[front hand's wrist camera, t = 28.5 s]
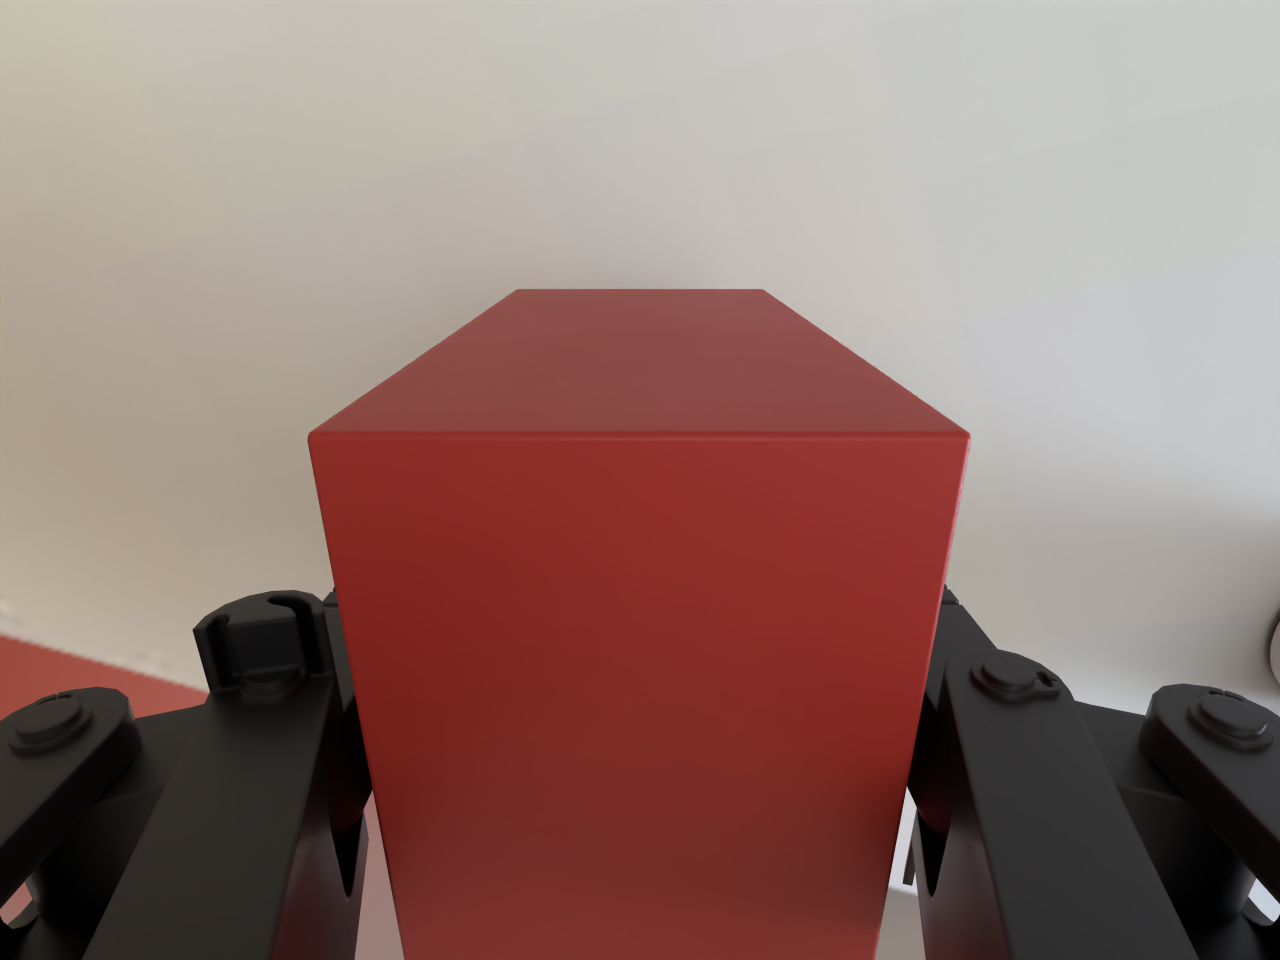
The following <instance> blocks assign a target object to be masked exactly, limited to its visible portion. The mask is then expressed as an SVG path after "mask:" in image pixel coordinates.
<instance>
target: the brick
mask: <svg viewBox="0 0 1280 960" xmlns="http://www.w3.org/2000/svg"><path fill="white" fill-rule="evenodd" d="M970 444H971V437H970V433H969V432H967V431H966V430H964V429H963V428H961V427H960V426H959V425H957V424H956V423H954V422H953V421H951V420H950V419H949V418H947V417H946V416H944V415H943V414H941V413H940V412H938V411H937V410H936V409H934V408H933V407H931V406H930V405H928V404H927V403H926V402H924V401H923V400H921V399H920V398H918V397H917V396H915V395H914V394H913V393H911V392H910V391H908V390H907V389H905V388H904V387H903V386H901V385H900V384H898V383H897V382H895V381H894V380H892V379H891V378H890V377H888V376H887V375H885V374H884V373H882V372H881V371H880V370H878V369H877V368H875V367H874V366H872V365H871V364H869V363H868V362H867V361H865V360H864V359H862V358H861V357H859V356H858V355H857V354H855V353H854V352H852V351H851V350H849V349H848V348H846V347H845V346H844V345H842V344H841V343H839V342H838V341H836V340H835V339H834V338H832V337H831V336H829V335H828V334H826V333H825V332H823V331H822V330H821V329H819V328H818V327H816V326H815V325H813V324H812V323H811V322H809V321H808V320H806V319H805V318H803V317H802V316H800V315H799V314H798V313H796V312H795V311H793V310H792V309H790V308H789V307H788V306H786V305H785V304H783V303H782V302H780V301H779V300H777V299H776V298H775V297H773V296H772V295H770V294H769V293H767V292H766V291H765V290H762V289H518V290H516V291H514V292H513V293H511V294H510V295H508V296H507V297H505V298H504V299H502V300H501V301H500V302H498V303H497V304H495V305H494V306H492V307H491V308H489V309H488V310H487V311H485V312H484V313H482V314H481V315H479V316H478V317H476V318H475V319H473V320H472V321H471V322H469V323H468V324H466V325H465V326H463V327H462V328H460V329H459V330H458V331H456V332H455V333H453V334H452V335H450V336H449V337H447V338H446V339H445V340H443V341H442V342H440V343H439V344H437V345H436V346H434V347H433V348H431V349H430V350H429V351H427V352H426V353H424V354H423V355H421V356H420V357H418V358H417V359H416V360H414V361H413V362H411V363H410V364H408V365H407V366H405V367H404V368H402V369H401V370H400V371H398V372H397V373H395V374H394V375H392V376H391V377H389V378H388V379H387V380H385V381H384V382H382V383H381V384H379V385H378V386H376V387H375V388H373V389H372V390H371V391H369V392H368V393H366V394H365V395H363V396H362V397H360V398H359V399H358V400H356V401H355V402H353V403H352V404H350V405H349V406H347V407H346V408H344V409H343V410H342V411H340V412H339V413H337V414H336V415H334V416H333V417H331V418H330V419H329V420H327V421H326V422H324V423H323V424H321V425H320V426H318V427H317V428H316V429H314V430H313V431H311V432H310V433H309V435H308V446H309V451H310V457H311V462H312V467H313V473H314V478H315V483H316V489H317V494H318V499H319V505H320V510H321V515H322V521H323V526H324V531H325V537H326V542H327V547H328V553H329V558H330V564H331V569H332V574H333V580H334V585H335V590H336V596H337V601H338V606H339V612H340V617H341V622H342V628H343V633H344V638H345V644H346V649H347V655H348V660H349V665H350V671H351V676H352V681H353V687H354V692H355V697H356V703H357V708H358V713H359V719H360V724H361V729H362V735H363V740H364V745H365V751H366V756H367V762H368V767H369V772H370V778H371V783H372V788H373V794H374V799H375V804H376V810H377V815H378V820H379V826H380V831H381V836H382V842H383V847H384V852H385V858H386V863H387V869H388V874H389V879H390V885H391V890H392V895H393V901H394V906H395V911H396V917H397V922H398V927H399V933H400V938H401V943H402V949H403V954H404V959H405V960H874V959H875V954H876V949H877V943H878V938H879V933H880V927H881V922H882V916H883V911H884V906H885V900H886V895H887V890H888V884H889V879H890V874H891V868H892V863H893V857H894V852H895V847H896V841H897V836H898V831H899V825H900V820H901V814H902V809H903V804H904V798H905V793H906V788H907V782H908V777H909V772H910V766H911V761H912V755H913V750H914V745H915V739H916V734H917V729H918V723H919V718H920V712H921V707H922V702H923V696H924V691H925V686H926V680H927V675H928V670H929V664H930V659H931V653H932V648H933V643H934V637H935V632H936V627H937V621H938V616H939V610H940V605H941V600H942V594H943V589H944V584H945V578H946V573H947V568H948V562H949V557H950V551H951V546H952V541H953V535H954V530H955V525H956V519H957V514H958V508H959V503H960V498H961V492H962V487H963V482H964V476H965V471H966V466H967V460H968V455H969V449H970Z"/></svg>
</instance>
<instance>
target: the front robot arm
mask: <svg viewBox="0 0 1280 960" xmlns="http://www.w3.org/2000/svg"><path fill="white" fill-rule="evenodd" d="M193 633H194V637H195V640H196V644H197V647H198V651H199V654H200V658H201V662H202V665H203V669H204V672H205V676H206V679H207V683H208V686H209V690H210V693H209V695H208V697H207V699H206V702H205V704H202V705H198V706H195V707H191V708H186V709H181V710H176V711H171V712H166V713H161V714H156V715H151V716H146V717H141V718H136V719H135V717H134V715H133V712H132V709H131V706H130V703H129V700H128V697H126V696H125V695H124V694H122V693H121V692H120V691H118V690H117V689H110V688H103V687H92V688H84V689H76V690H69V691H64V692H60V693H58V694H57V695H55V694H53V695H50V696H47V697H44V698H41V699H39V700H37V701H36V702H34V703H32V704H30V705H28V706H26V707H23V708H21V709H19V710H17V711H15V712H13V713H12V714H10V715H9V716H7V717H6V718H4V719H3V720H1V721H0V909H1V907H2V906H3V905H4V904H5V903H6V902H7V901H8V899H9V898H10V897H11V896H12V895H13V894H14V893H15V892H16V890H17V889H18V888H19V887H20V886H21V885H22V884H23V883H24V881H25V883H26V885H27V888H28V890H29V892H30V894H31V896H32V899H33V900H32V901H31V902H30V903H29V904H28V905H27V907H26V908H25V909H24V910H23V911H22V913H21V914H19V915H18V916H17V917H16V918H15V919H14V920H12V921H11V922H10V923H9V924H8V925H7V924H5V923H4V922H3V920H2V919H1V917H0V960H354V959H355V950H356V942H357V933H358V925H359V916H360V908H361V900H362V891H363V883H364V874H365V866H366V857H367V849H368V840H369V839H368V832H367V825H366V820H365V815H364V807H365V805H366V803H367V801H368V798H369V796H370V794H371V792H372V790H373V788H372V783H371V778H370V772H369V767H368V762H367V756H366V751H365V745H364V740H363V735H362V729H361V724H360V719H359V713H358V708H357V703H356V697H355V692H354V687H353V681H352V676H351V671H350V665H349V660H348V655H347V649H346V644H345V638H344V633H343V628H342V622H341V617H340V612H339V606H338V601H337V596H336V590H335V587H334V588H333V592H330V593H329V594H328V596H327V597H326V598H325V599H324V601H323V602H322V601H321V600H320V599H318V598H317V597H316V596H315V595H313V594H310V593H306V592H301V591H296V590H286V591H270V592H265V593H260V594H255V595H250V596H247V597H244V598H241V599H239V600H236V601H233V602H231V603H228V604H225V605H223V606H222V607H220V608H218V609H217V610H215V611H213V612H212V613H210V614H208V615H207V616H205V617H204V618H203V619H202V620H201V621H200V622H199V623H198V624H197V625H196V627H195V628H194V629H193ZM907 787H908V789H909V791H910V794H911V796H912V798H913V800H914V802H915V805H916V807H917V809H916V815H915V820H914V825H913V830H912V835H911V840H910V845H909V850H908V855H907V860H906V865H905V871H904V878H903V884H906V885H911V886H912V884H913V879H914V874H915V872H916V881H917V889H918V898H919V906H920V914H921V923H922V931H923V940H924V948H925V957H926V960H1280V915H1279V917H1278V919H1277V920H1276V921H1275V922H1273V921H1271V920H1270V919H1269V918H1268V917H1267V916H1265V915H1264V914H1263V913H1262V912H1261V911H1260V910H1259V909H1258V907H1257V906H1256V905H1255V904H1254V903H1253V902H1252V901H1251V899H1250V898H1249V897H1248V895H1249V893H1250V891H1251V888H1252V886H1253V884H1254V882H1255V880H1256V878H1257V879H1258V880H1259V881H1260V882H1261V883H1262V885H1263V886H1264V887H1265V888H1266V889H1267V890H1268V891H1269V892H1270V894H1271V895H1272V896H1273V897H1274V898H1275V899H1276V900H1277V901H1278V902H1279V904H1280V717H1279V716H1277V715H1276V714H1274V713H1273V712H1271V711H1270V710H1268V709H1267V708H1265V707H1262V706H1260V705H1258V704H1256V703H1254V702H1251V701H1249V700H1247V699H1245V698H1244V697H1242V696H1240V695H1238V694H1235V693H1232V692H1229V691H1222V689H1218V688H1213V687H1208V686H1199V685H1190V684H1176V685H1169V686H1163V687H1162V688H1160V689H1159V690H1158V691H1156V692H1155V693H1154V694H1153V695H1152V698H1151V701H1150V704H1149V707H1148V710H1147V713H1146V716H1145V715H1140V714H1135V713H1130V712H1125V711H1120V710H1115V709H1110V708H1105V707H1100V706H1095V705H1090V704H1086V703H1082V702H1078V701H1075V700H1074V698H1073V696H1072V694H1071V692H1070V690H1069V689H1068V688H1067V687H1066V685H1065V684H1064V683H1063V681H1062V680H1061V679H1060V678H1059V677H1058V676H1057V675H1056V674H1054V673H1053V672H1051V671H1050V670H1048V669H1047V668H1046V667H1044V666H1043V665H1041V664H1040V663H1037V662H1035V661H1033V660H1031V659H1028V658H1026V657H1024V656H1021V655H1019V654H1016V653H1012V652H1007V651H1003V650H999V649H997V648H996V647H995V646H994V644H993V643H992V642H991V641H990V639H989V638H988V637H987V636H986V634H985V633H984V632H983V631H982V629H981V628H980V627H979V626H978V624H977V623H976V622H975V621H974V619H973V618H972V617H971V616H970V614H969V613H968V612H967V611H966V609H965V608H964V607H963V606H962V605H959V601H958V599H957V598H956V597H955V596H954V594H953V593H952V592H951V591H950V590H947V586H946V584H944V589H943V594H942V600H941V605H940V610H939V616H938V621H937V627H936V632H935V637H934V643H933V648H932V653H931V659H930V664H929V670H928V675H927V680H926V686H925V691H924V696H923V702H922V707H921V712H920V718H919V723H918V729H917V734H916V739H915V745H914V750H913V755H912V761H911V766H910V772H909V777H908V782H907Z"/></svg>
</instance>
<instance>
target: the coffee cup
mask: <svg viewBox="0 0 1280 960" xmlns="http://www.w3.org/2000/svg"><path fill="white" fill-rule="evenodd" d="M1270 662H1271V667H1272V671H1273V674H1274V676H1275V678H1276V680H1277V681H1278V683H1279V684H1280V622H1279V624H1278V626H1277V628H1276V630H1275V633H1274V636H1273V639H1272V643H1271V649H1270Z"/></svg>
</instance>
